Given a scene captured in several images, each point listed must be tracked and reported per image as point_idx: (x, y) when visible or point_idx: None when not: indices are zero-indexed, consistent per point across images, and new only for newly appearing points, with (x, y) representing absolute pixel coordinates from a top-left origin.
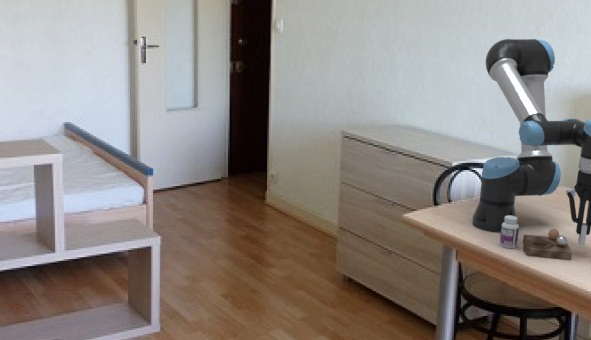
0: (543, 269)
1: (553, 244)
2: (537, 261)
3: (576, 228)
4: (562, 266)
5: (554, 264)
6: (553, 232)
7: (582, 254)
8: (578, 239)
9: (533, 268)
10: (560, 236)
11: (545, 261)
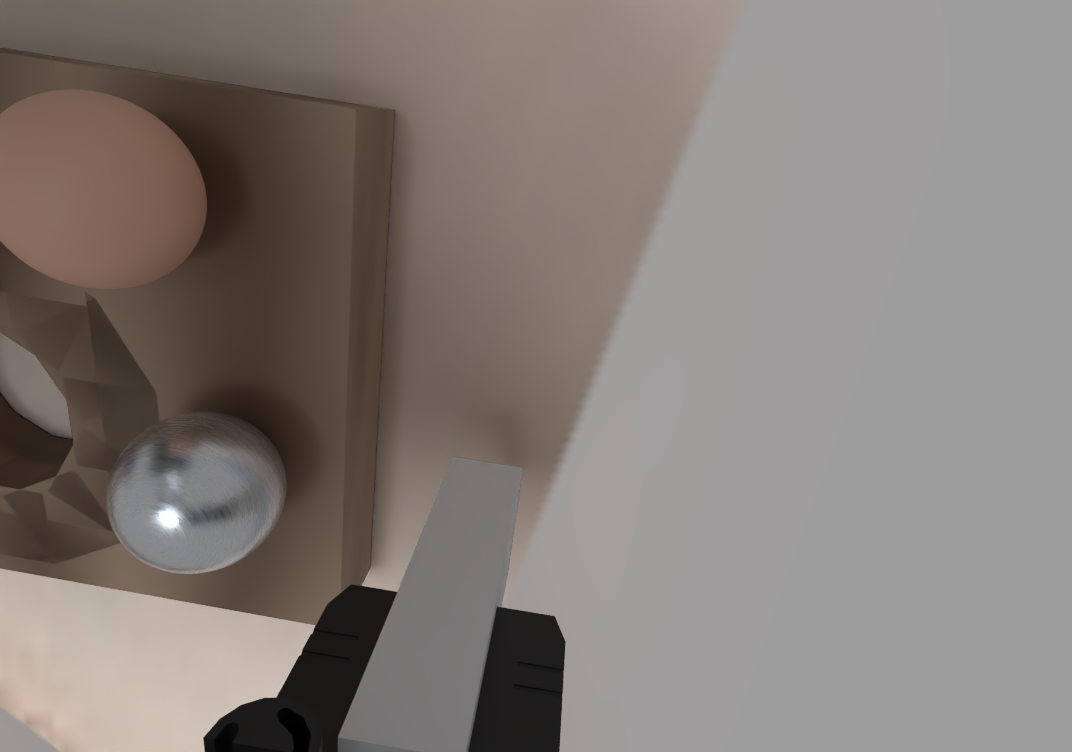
0: (112, 741)
1: (154, 402)
2: (62, 605)
3: (304, 650)
4: (268, 691)
5: (205, 657)
6: (45, 271)
7: (547, 407)
8: (441, 491)
9: (38, 727)
10: (130, 544)
11: (131, 603)
